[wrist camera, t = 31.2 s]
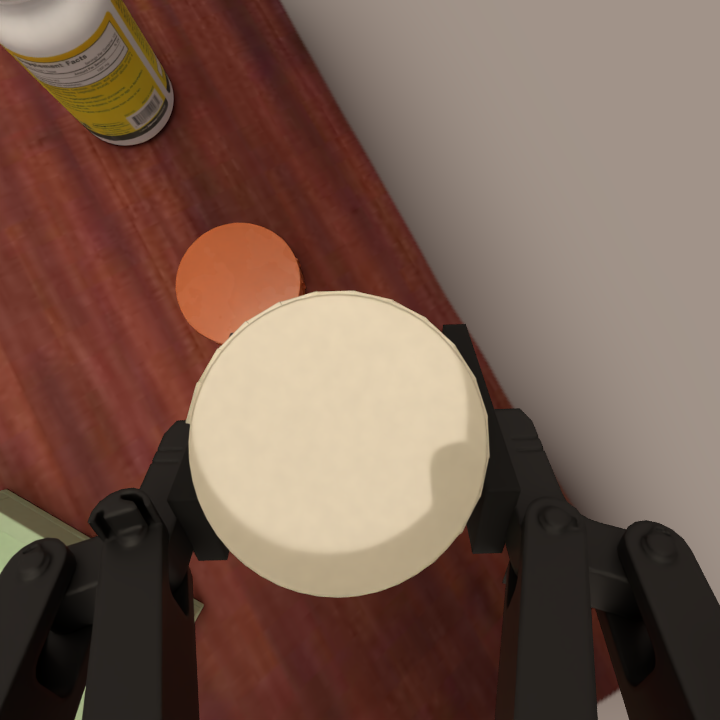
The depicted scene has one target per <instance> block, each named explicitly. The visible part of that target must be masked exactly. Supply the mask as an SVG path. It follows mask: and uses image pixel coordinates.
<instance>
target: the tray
mask: <svg viewBox="0 0 720 720" xmlns="http://www.w3.org/2000/svg"><path fill="white" fill-rule="evenodd" d="M47 537H48V538H58V539H59V540H60V541H62V542H63V543H64V544H65V545H66V546H68V545H71V544H74V543H78V542H81V541H84V540H87V539H90V538H89V537H88V536H86V535H84V534H83V533H81V532H79V531H77V530H76V529H74V528H72V527H71V526H69V525H67V524H65V523H64V522H62V521H60V520H59V519H57V518H55V517H53V516H52V515H50V514H48V513H47V512H45V511H43V510H41V509H40V508H38V507H36V506H35V505H33V504H31V503H29V502H28V501H26V500H24V499H23V498H21V497H19V496H17V495H16V494H14V493H12V492H11V491H9V490H7V489H6V490H1V491H0V574H1V572H2V570H3V568H4V567H5V566H6V564H7V563H8V561H9V560H10V559H11V557H12V556H13V555H15V554H16V553H17V552H18V551H19V550H20V549H22V548H23V547H24V546H26V545H28V544H30V543H32V542H34V541H36V540H40V539H43V538H47ZM193 601H194V621H196V619H197V617H198V615H199V614H200V612H201V610H202V608H203V606H204V604H202V603H201V602H199V601H197V600H196V599H194V598H193ZM85 688H86V686H85ZM84 697H85V690H84V693H83V696H82V699H81V702H80V705H79V708H78V711H77V714H76V717H75V720H82V714H83V706H84Z"/></svg>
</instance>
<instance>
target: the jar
mask: <svg viewBox="0 0 720 720" xmlns="http://www.w3.org/2000/svg"><path fill="white" fill-rule="evenodd" d="M186 423H188V424H190V431H189V463H190V469H191V475H192V481H193V485H194V488H195V491H196V495H197V498H198V501H199V503H200V505H201V508H202V510H203V512H204V514H205V516H206V519H207V520H208V522H209V523H210V525H211V527H212V528H213V530H214V531H215V533H216V535H217V536H218V537H219V539H220V540H221V541H222V542H223V543H224V545H225V546H226V547H227V548H228V549H229V551H230V552H231V553H232V554H234V555H235V556H236V557H237V558H238V559H239V560H240V561H241V562H242V563H243V564H244V565H246V566H247V567H249V568H250V569H251V570H253V571H254V572H256V573H257V574H259V575H260V576H261V577H263V578H265V579H267V580H269V581H271V582H273V583H275V584H277V585H279V586H282V587H285V588H287V589H290V590H293V591H296V592H299V593H304V594H309V595H314V596H320V597H336V598H340V597H353V596H362V595H366V594H371V593H375V592H379V591H382V590H385V589H388V588H390V587H393V586H396V585H398V584H400V583H402V582H404V581H406V580H408V579H410V578H411V577H413V576H415V575H417V574H418V573H420V572H421V571H422V570H424V569H425V568H427V567H428V566H429V565H431V564H432V563H434V562H435V561H436V560H437V559H438V558H439V557H440V556H441V555H442V554H443V553H444V552H445V551H446V550H447V549H448V548H449V546H450V545H451V544H452V543H453V541H454V540H455V539H456V538H457V537H458V535H459V534H460V533H462V532H463V530H464V528H465V526H466V524H467V522H468V520H469V518H470V516H471V514H472V512H473V510H474V508H475V506H476V504H477V502H478V500H479V498H480V497H481V494H482V489H483V484H484V479H485V475H486V470H487V465H488V460H489V458H490V452H489V434H488V415H487V412H486V409H485V406H484V402H483V399H482V396H481V393H480V390H479V387H478V384H477V381H476V377H475V376H474V374H473V373H472V371H471V370H470V368H469V366H468V365H467V363H466V362H465V360H464V359H463V357H462V356H461V354H460V352H459V351H458V349H457V348H456V345H455V344H454V343H453V342H451V341H450V340H449V339H448V338H447V337H446V336H445V335H444V334H443V333H442V332H441V331H439V330H438V329H437V328H436V327H435V326H434V325H433V324H432V323H431V322H430V321H428V320H427V318H425V317H423V316H421V315H420V314H418V313H416V312H414V311H412V310H410V309H408V308H406V307H404V306H402V305H401V304H399V303H397V302H395V301H393V300H391V299H387V298H383V297H378V296H374V295H370V294H365V293H361V292H357V291H326V292H317V291H315V292H312V293H309V294H305V295H302V296H299V297H295V298H292V299H288V300H285V301H282V302H280V301H279V302H278V303H276V304H274V305H273V306H271V307H269V308H268V309H266V310H264V311H263V312H261V313H259V314H258V315H256V316H254V317H253V318H251V319H249V320H248V321H245V322H244V323H243V324H242V325H241V326H240V327H239V328H238V329H237V330H236V331H235V332H234V333H233V334H232V335H231V336H230V337H229V338H228V339H227V340H226V341H225V342H224V343H223V344H222V345H221V346H220V347H219V348H218V349H217V350H216V352H215V354H214V355H213V357H212V359H211V360H210V362H209V364H208V366H207V367H206V369H205V371H204V373H203V374H202V376H201V378H200V380H199V381H198V382H197V383H196V387H195V390H194V394H193V398H192V401H191V405H190V409H189V412H188V416H187V419H186Z"/></svg>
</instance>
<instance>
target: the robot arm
mask: <svg viewBox="0 0 720 720" xmlns="http://www.w3.org/2000/svg"><path fill="white" fill-rule="evenodd" d="M442 333H443V334H444V335H445V336H446V337H447V338H448V339H449V340H450V341H451V342H453V343H454V344H455V345H456V348H457V349H458V351H459V352H460V354H461V356H462V357H463V359H464V360H465V362H466V363H467V365H468V366H469V368H470V370H471V371H472V373H473V374H474V376H475V377H476V381H477V384H478V387H479V390H480V393H481V396H482V399H483V402H484V406H485V409H486V412H487V415H488V434H489V452H490V458H489V460H488V465H487V470H486V475H485V479H484V484H483V489H482V494H481V497H480V498H479V500H478V502H477V504H476V506H475V508H474V510H473V512H472V514H471V516H470V518H469V520H468V522H467V529H468V534H469V538H470V543H471V548H472V553H473V554H480V553H502V551H503V548H504V545H505V543H506V547H507V551H508V554H509V558H510V561H509V564H508V567H507V570H506V573H505V576H504V579H503V582H502V583H505V584H506V588H505V600H504V612H503V624H502V637H501V649H500V661H499V673H498V685H497V697H496V709H495V720H598V717H597V700H596V683H595V666H594V649H593V632H592V615H591V607H592V608H595V609H596V612H597V616H598V619H599V622H600V625H601V629H602V632H603V635H604V638H605V642H606V645H607V648H608V652H609V655H610V658H611V661H612V665H613V668H614V671H615V674H616V678H617V681H618V684H619V687H620V691H621V694H622V697H623V700H624V704H625V707H626V710H627V714H628V717H629V720H720V605H719V603H718V601H717V599H716V597H715V596H714V593H713V592H712V590H711V588H710V586H709V584H708V582H707V580H706V578H705V576H704V574H703V572H702V570H701V568H700V566H699V564H698V562H697V560H696V558H695V556H694V554H693V553H692V551H691V549H690V548H689V546H688V545H687V543H686V542H685V541H684V539H683V538H682V537H680V536H679V535H678V534H677V533H675V532H674V531H673V530H672V529H670V528H668V527H666V526H664V525H662V524H660V523H656V522H652V521H647V520H646V521H638V522H634V523H633V524H632V525H630V526H629V527H628V528H627V529H622V528H618V527H615V526H611V525H607V524H603V523H599V522H596V521H593V520H591V519H588V518H586V517H585V516H583V515H581V514H580V513H579V512H578V510H577V509H576V508H575V507H573V506H572V505H570V504H569V503H568V502H567V501H566V499H565V498H564V496H563V494H562V492H561V489H560V487H559V485H558V482H557V480H556V477H555V475H554V472H553V470H552V468H551V465H550V463H549V460H548V458H547V456H546V453H545V451H543V446H542V444H541V441H540V439H538V434H537V432H536V429H535V427H534V425H533V422H532V421H531V419H529V417H528V416H527V415H526V414H525V413H524V412H523V411H522V410H520V409H519V408H518V409H494V408H493V405H492V402H491V399H490V396H489V393H488V390H487V387H486V384H485V381H484V378H483V375H482V372H481V369H480V366H479V363H478V360H477V357H476V354H475V351H474V348H473V345H472V342H471V339H470V336H469V333H468V330H467V327H466V324H457V325H443V331H442ZM232 334H233V333H230V336H231V335H232ZM230 336H229V337H230ZM189 431H190V424H188V423H186V420H180V421H176V422H175V423H174V424H173V425H172V426H171V427H170V428H169V430H168V431H167V432H166V433H165V434H164V436H163V438H162V440H161V442H160V445H159V447H158V452H156V454H155V456H154V458H153V460H152V461H153V463H152V464H151V465H150V467H149V469H148V471H147V474H146V476H145V478H144V480H143V483H142V485H141V487H140V489H136V488H127V489H121V490H119V491H116V492H114V493H112V494H110V495H108V496H107V497H106V498H104V499H103V500H102V501H100V502H99V503H98V504H97V506H96V507H95V508H94V509H93V511H92V512H91V514H90V517H89V520H88V523H89V524H90V526H91V527H92V528H93V530H94V531H95V532H96V534H97V535H98V536H96V537H93V538H90V539H87V540H84V541H81V542H78V543H74V544H71V545H68V546H66V545H65V544H64V543H63V542H62V541H60V540H59V539H58V538H48V537H47V538H43V539H40V540H36V541H34V542H32V543H30V544H28V545H26V546H24V547H23V548H22V549H20V550H19V551H18V552H17V553H16V554H15V555H13V556H12V557H11V559H10V560H9V561H8V563H7V564H6V566H5V567H4V568H3V570H2V572H1V574H0V720H75V717H76V714H77V711H78V708H79V705H80V702H81V699H82V696H83V693H84V690H85V697H84V706H83V714H82V720H199V702H198V682H197V661H196V641H195V621H194V601H193V581H192V574H191V570H190V568H189V562H190V559H191V556H192V552H193V551H194V553H195V555H196V557H197V558H198V560H199V561H205V560H227V558H228V554H229V549H228V548H227V547H226V546H225V545H224V543H223V542H222V541H221V540H220V539H219V537H218V536H217V535H216V533H215V531H214V530H213V528H212V527H211V525H210V523H209V522H208V520H207V519H206V516H205V514H204V512H203V510H202V508H201V505H200V503H199V501H198V498H197V495H196V491H195V488H194V485H193V481H192V475H191V469H190V463H189ZM85 686H86V688H85Z"/></svg>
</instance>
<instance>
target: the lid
mask: <svg viewBox="0 0 720 720" xmlns="http://www.w3.org/2000/svg"><path fill="white" fill-rule="evenodd" d="M300 267H301V265H300V263H299V261H298V258H295V256H294V253H293V252H292V250H291V249H290V247H289V246H288V245H287V244H286V242H285V241H284V240H283V239H282V238H280V237H279V236H278V235H277V234H275V233H274V232H272V231H270V230H268V229H266V228H264V227H261V226H259V225H255V224H250V223H231V224H225V225H222V226H219V227H216V228H214V229H212V230H210V231H208V232H206V233H205V234H203V235H202V236H200V237H199V238H198V239H197V240H196V241H195V242H194V243H193V244H192V245H191V246H190V247H189V249H188V250H187V251H186V253H185V255H184V256H183V258H182V260H181V263H180V265H179V268H178V272H177V277H176V295H177V300H178V303H179V307H180V309H181V311H182V313H183V315H184V317H185V318H186V320H187V321H188V322H189V324H190V325H191V326H192V327H193V328H194V329H195V330H196V331H197V332H198V333H200V334H202V335H203V336H205V337H206V338H208V339H210V340H212V341H215V342H217V343H216V344H218V345H222V344H223V343H224V342H225V341H226V340H227V339H228V338H229V336H230V333H234V332H235V331H236V330H237V329H238V328H239V327H240V326H241V325H242V324H243V323H244V322H245V321H248V320H249V319H251V318H253V317H254V316H256V315H258V314H259V313H261V312H263V311H264V310H266V309H268V308H269V307H271V306H273V305H274V304H276V303H278V302H279V301H280V302H282V301H285V300H288V299H292V298H295V297H299V296H302V295H305V289H306V286H305V283H304V277H303V274H302V271H301V268H300Z"/></svg>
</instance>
